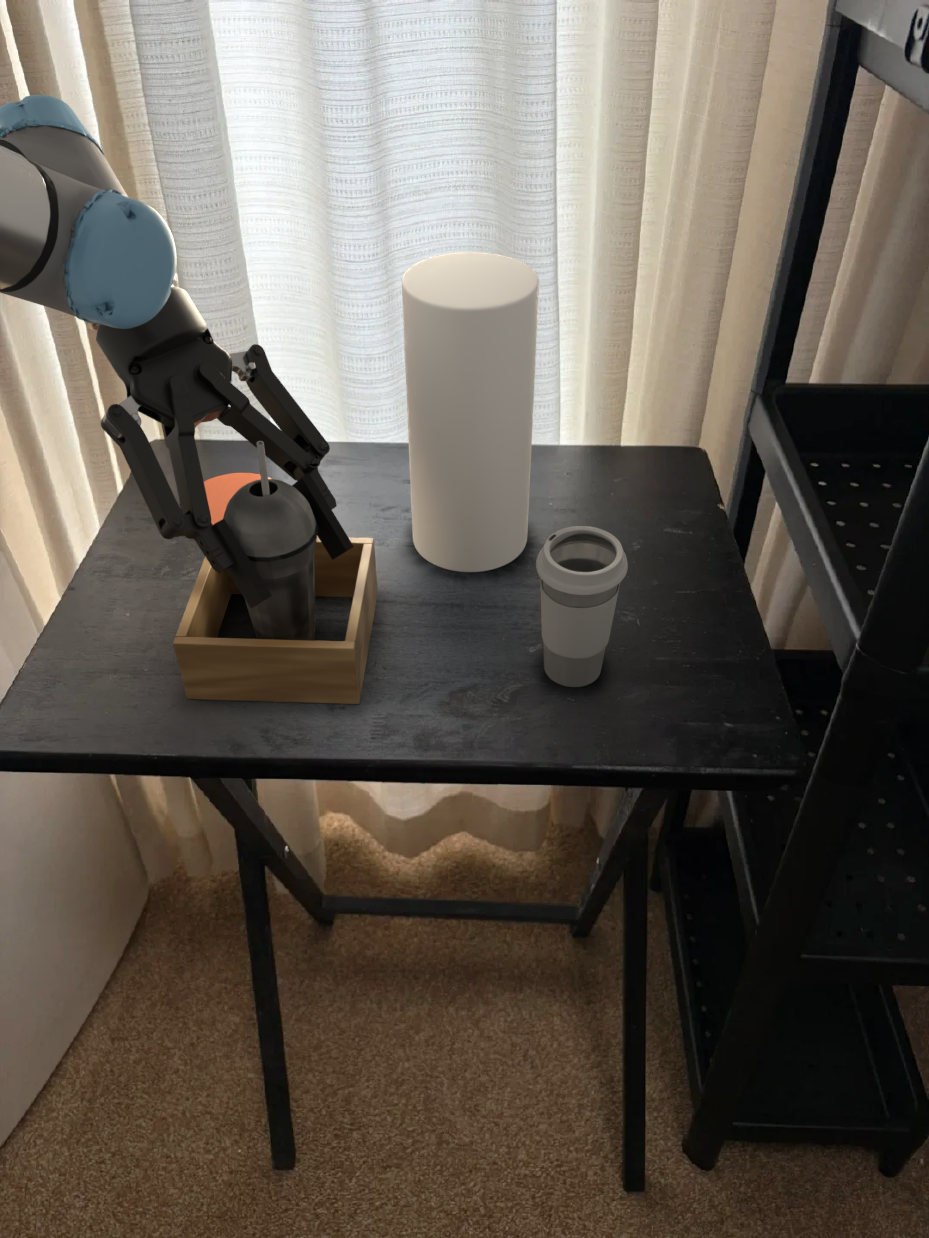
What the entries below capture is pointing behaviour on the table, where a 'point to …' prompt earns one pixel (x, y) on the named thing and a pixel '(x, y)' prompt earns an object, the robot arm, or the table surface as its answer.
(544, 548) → the cup
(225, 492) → the coaster
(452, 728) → the table surface
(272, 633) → the beverage cup
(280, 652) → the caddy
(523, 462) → the tall pillar cylinder
